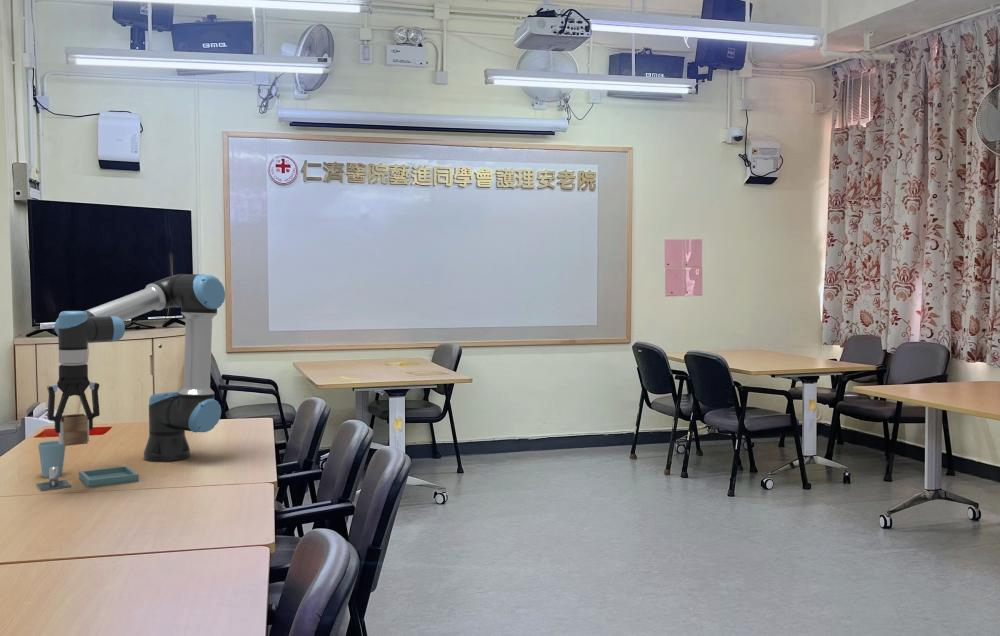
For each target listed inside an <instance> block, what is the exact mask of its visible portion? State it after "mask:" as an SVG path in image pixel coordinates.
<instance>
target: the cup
mask: <svg viewBox="0 0 1000 636" xmlns="http://www.w3.org/2000/svg"><path fill="white" fill-rule="evenodd" d="M37 446H38V452H39V460H40V467H41V468H40V469H41V475H42V477H43V478H49V467H53V466H58V477H61V476H63V471H64V461H65V452H66V446H64V445H63V444H60V443H59V440H49V441H43V442H39V443H38V444H37Z"/></svg>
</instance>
